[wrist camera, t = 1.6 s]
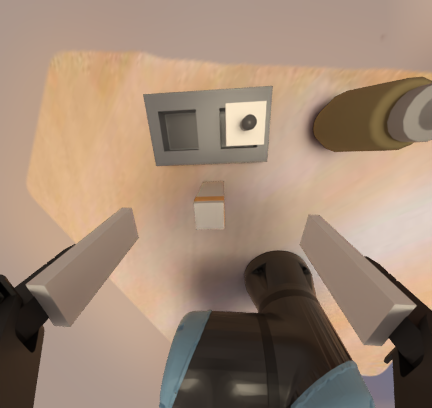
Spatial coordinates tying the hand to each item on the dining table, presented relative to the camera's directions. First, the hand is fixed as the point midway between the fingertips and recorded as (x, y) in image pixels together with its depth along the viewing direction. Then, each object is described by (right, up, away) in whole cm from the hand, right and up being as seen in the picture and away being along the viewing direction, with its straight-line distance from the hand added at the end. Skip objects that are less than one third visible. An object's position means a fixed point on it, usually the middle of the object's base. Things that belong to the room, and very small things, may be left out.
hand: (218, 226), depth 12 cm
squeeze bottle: (+19, +15, +15) cm, 28 cm away
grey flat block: (-1, +14, +16) cm, 21 cm away
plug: (-1, +4, +20) cm, 20 cm away
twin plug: (+3, +14, +14) cm, 20 cm away
